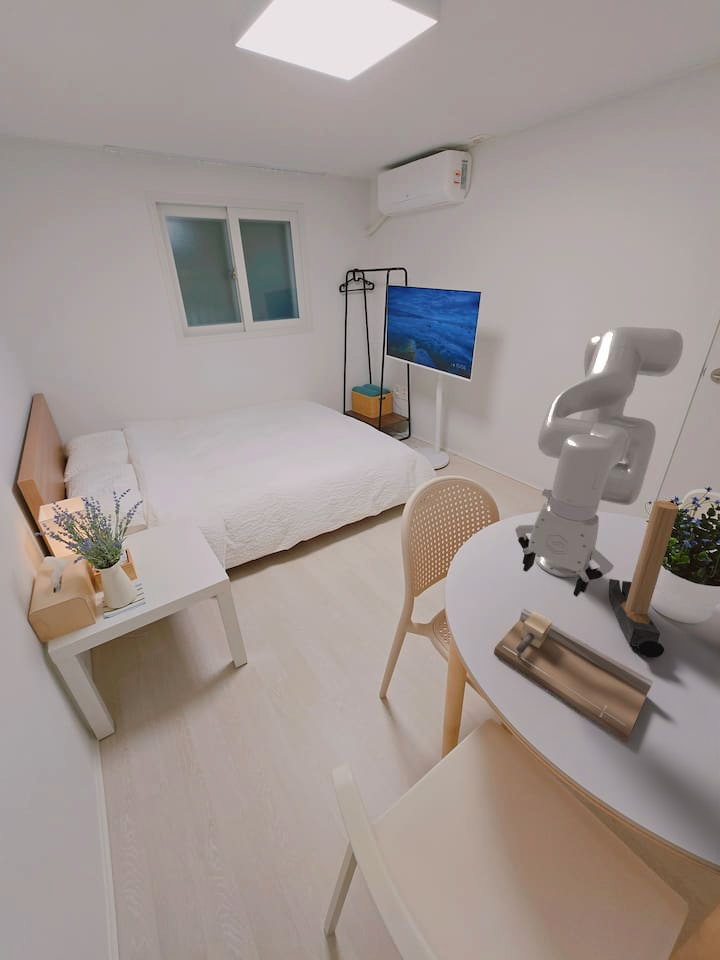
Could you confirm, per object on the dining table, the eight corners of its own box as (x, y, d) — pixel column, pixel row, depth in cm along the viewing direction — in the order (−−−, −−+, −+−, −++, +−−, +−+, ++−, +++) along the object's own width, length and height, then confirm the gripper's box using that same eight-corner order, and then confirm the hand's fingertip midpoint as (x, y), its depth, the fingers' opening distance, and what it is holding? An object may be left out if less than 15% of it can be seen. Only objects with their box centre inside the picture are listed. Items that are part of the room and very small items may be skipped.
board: (520, 621, 92) (524, 608, 90) (645, 695, 76) (653, 681, 74) (493, 653, 85) (496, 639, 83) (625, 742, 68) (633, 727, 66)
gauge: (529, 625, 88) (533, 611, 86) (547, 636, 86) (552, 621, 84) (509, 650, 83) (512, 635, 81) (527, 663, 80) (531, 647, 78)
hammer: (603, 599, 100) (632, 486, 91) (626, 603, 99) (657, 489, 90) (634, 655, 82) (674, 521, 72) (662, 660, 81) (706, 524, 71)
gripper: (515, 495, 73) (501, 568, 81) (621, 534, 62) (592, 614, 70) (533, 481, 77) (518, 551, 85) (635, 515, 66) (607, 592, 74)
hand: (552, 579), depth 78 cm, fingers open, 9 cm apart
